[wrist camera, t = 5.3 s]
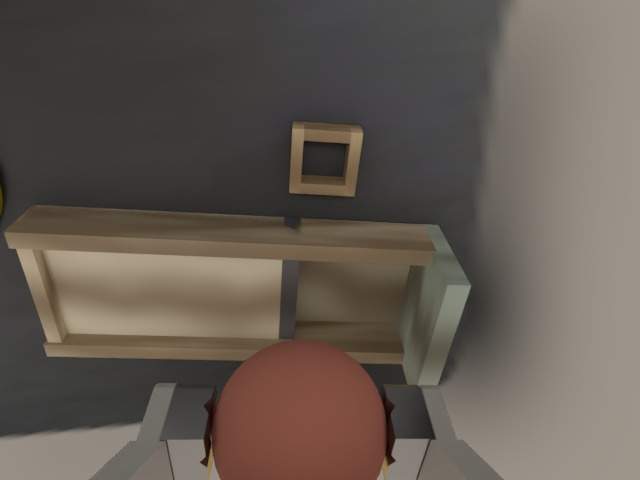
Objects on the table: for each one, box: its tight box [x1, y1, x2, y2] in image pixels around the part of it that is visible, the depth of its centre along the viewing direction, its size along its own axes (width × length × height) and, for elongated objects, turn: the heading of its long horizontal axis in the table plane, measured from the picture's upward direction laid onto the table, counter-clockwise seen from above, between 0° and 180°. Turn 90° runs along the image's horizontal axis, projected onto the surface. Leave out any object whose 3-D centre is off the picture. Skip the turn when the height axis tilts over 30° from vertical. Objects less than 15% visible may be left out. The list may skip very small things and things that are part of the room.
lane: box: [4, 205, 471, 385], centre depth 26 cm, size 9×24×6 cm, turn 85°
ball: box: [212, 339, 387, 480], centre depth 11 cm, size 4×4×4 cm
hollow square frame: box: [289, 121, 363, 197], centre depth 23 cm, size 4×4×1 cm
